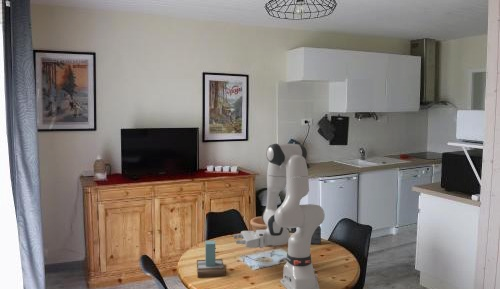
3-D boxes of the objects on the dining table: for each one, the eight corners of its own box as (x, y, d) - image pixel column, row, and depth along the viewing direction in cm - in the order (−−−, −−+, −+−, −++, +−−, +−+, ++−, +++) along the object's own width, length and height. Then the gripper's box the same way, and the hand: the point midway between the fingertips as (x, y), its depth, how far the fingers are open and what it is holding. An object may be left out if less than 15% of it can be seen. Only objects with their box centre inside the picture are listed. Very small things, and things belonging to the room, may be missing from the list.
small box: (320, 241, 264) (320, 225, 263) (321, 244, 258) (321, 228, 257) (304, 240, 265) (304, 225, 264) (304, 244, 259) (304, 228, 258)
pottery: (249, 247, 251) (249, 225, 250) (250, 236, 273) (250, 215, 272) (284, 248, 250) (284, 225, 249) (282, 237, 272) (283, 216, 271)
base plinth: (224, 275, 209) (224, 269, 209) (197, 277, 207) (197, 271, 207) (222, 263, 225) (222, 258, 225) (196, 265, 223) (196, 259, 223)
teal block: (215, 265, 214) (215, 243, 213) (205, 266, 213) (205, 244, 212) (214, 262, 219) (214, 240, 218) (205, 262, 218) (205, 241, 217)
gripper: (256, 227, 231) (232, 228, 229) (263, 237, 211) (237, 238, 209) (256, 238, 231) (232, 239, 229) (263, 249, 211) (237, 250, 209)
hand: (234, 239), depth 219 cm, fingers open, 8 cm apart
